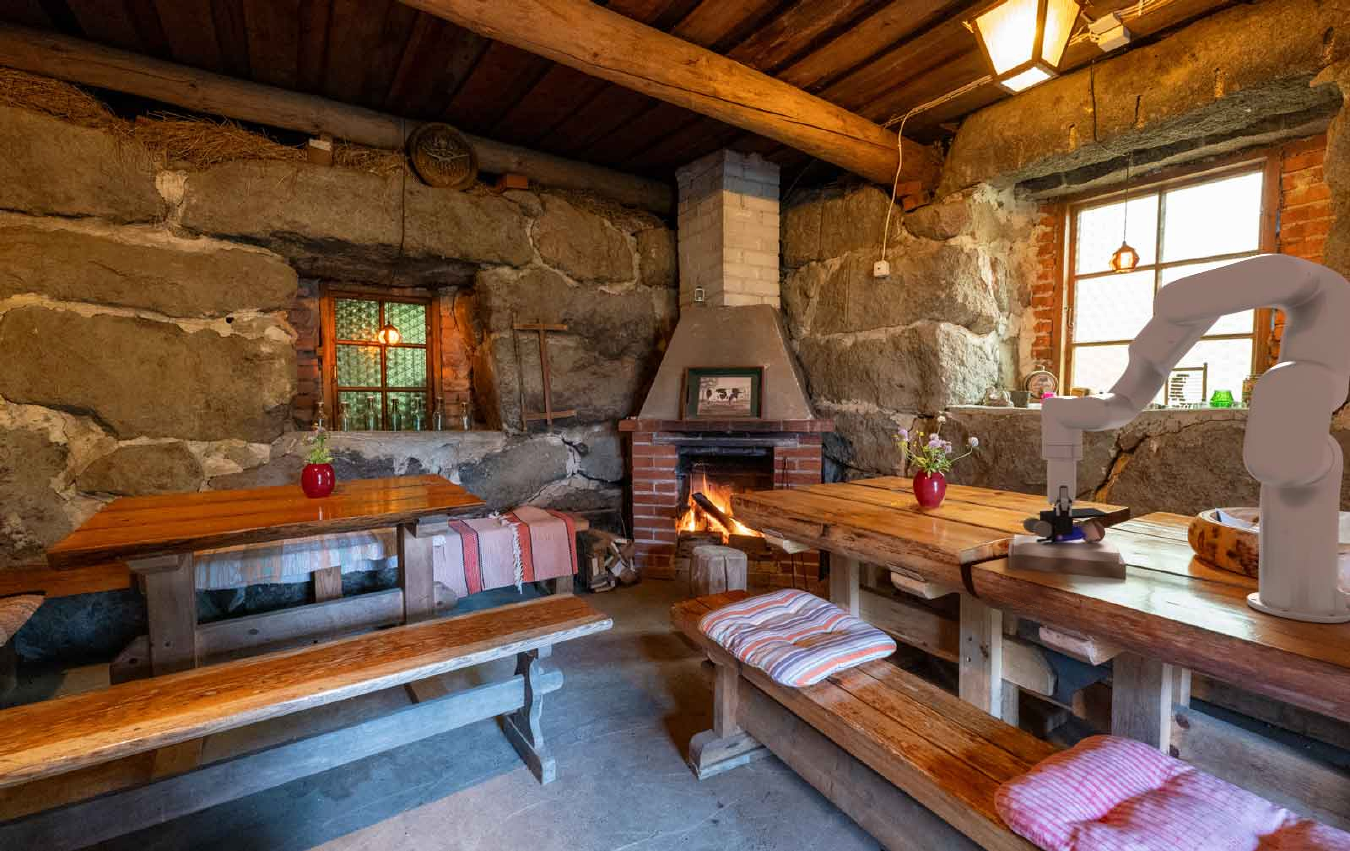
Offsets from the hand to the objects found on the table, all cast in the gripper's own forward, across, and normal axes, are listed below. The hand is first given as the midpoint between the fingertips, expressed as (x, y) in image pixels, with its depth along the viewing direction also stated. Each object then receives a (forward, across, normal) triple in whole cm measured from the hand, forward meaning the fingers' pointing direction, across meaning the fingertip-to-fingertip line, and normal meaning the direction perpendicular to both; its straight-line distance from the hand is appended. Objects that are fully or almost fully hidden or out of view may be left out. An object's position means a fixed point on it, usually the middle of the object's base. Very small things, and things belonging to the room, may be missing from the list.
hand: (1063, 529), depth 136 cm
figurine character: (+3, 0, +1) cm, 3 cm away
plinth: (+8, 0, 0) cm, 8 cm away
